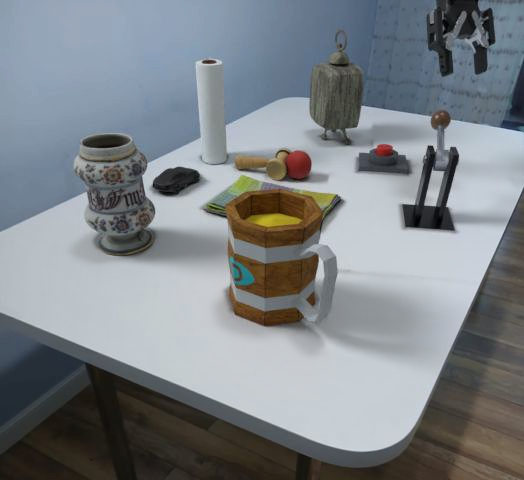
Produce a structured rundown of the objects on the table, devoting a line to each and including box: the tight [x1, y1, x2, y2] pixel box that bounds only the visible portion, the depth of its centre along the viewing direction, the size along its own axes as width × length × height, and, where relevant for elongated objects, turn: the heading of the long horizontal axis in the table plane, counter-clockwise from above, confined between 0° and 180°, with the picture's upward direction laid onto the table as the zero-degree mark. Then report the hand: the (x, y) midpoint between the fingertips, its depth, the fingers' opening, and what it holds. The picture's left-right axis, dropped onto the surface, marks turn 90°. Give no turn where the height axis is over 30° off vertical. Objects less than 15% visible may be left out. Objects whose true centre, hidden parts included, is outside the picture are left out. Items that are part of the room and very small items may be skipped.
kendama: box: [234, 147, 313, 181], centre depth 113 cm, size 8×6×18 cm
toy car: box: [151, 166, 201, 194], centre depth 108 cm, size 6×12×4 cm, turn 149°
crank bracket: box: [401, 144, 460, 232], centre depth 92 cm, size 10×9×14 cm
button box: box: [357, 147, 409, 175], centre depth 116 cm, size 11×9×4 cm
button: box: [376, 143, 394, 156], centre depth 114 cm, size 4×4×2 cm
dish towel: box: [202, 174, 342, 222], centre depth 100 cm, size 18×24×3 cm
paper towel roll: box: [194, 57, 228, 165], centre depth 114 cm, size 7×6×21 cm
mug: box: [225, 188, 339, 327], centre depth 70 cm, size 20×14×15 cm
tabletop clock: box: [308, 28, 365, 145], centre depth 125 cm, size 14×9×25 cm, turn 14°
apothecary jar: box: [73, 132, 156, 256], centre depth 84 cm, size 12×12×18 cm
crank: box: [430, 109, 452, 172], centre depth 91 cm, size 13×4×4 cm, turn 171°
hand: (464, 74), depth 90 cm, fingers open, 8 cm apart
